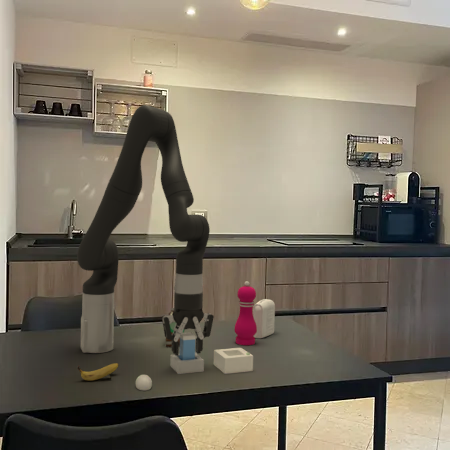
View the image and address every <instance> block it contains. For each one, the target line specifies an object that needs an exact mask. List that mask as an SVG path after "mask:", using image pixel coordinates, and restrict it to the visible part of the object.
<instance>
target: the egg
mask: <svg viewBox="0 0 450 450" xmlns="http://www.w3.org/2000/svg"><path fill="white" fill-rule="evenodd" d="M152 386H153V381H152V379H151V377H150V376H149V375H147V374H140V375H139V376H138V377H137V378H136V380H135V388H136V389H137V390H139V391H144V392H145V391H149V390H150V389H151V388H152Z"/></svg>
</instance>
